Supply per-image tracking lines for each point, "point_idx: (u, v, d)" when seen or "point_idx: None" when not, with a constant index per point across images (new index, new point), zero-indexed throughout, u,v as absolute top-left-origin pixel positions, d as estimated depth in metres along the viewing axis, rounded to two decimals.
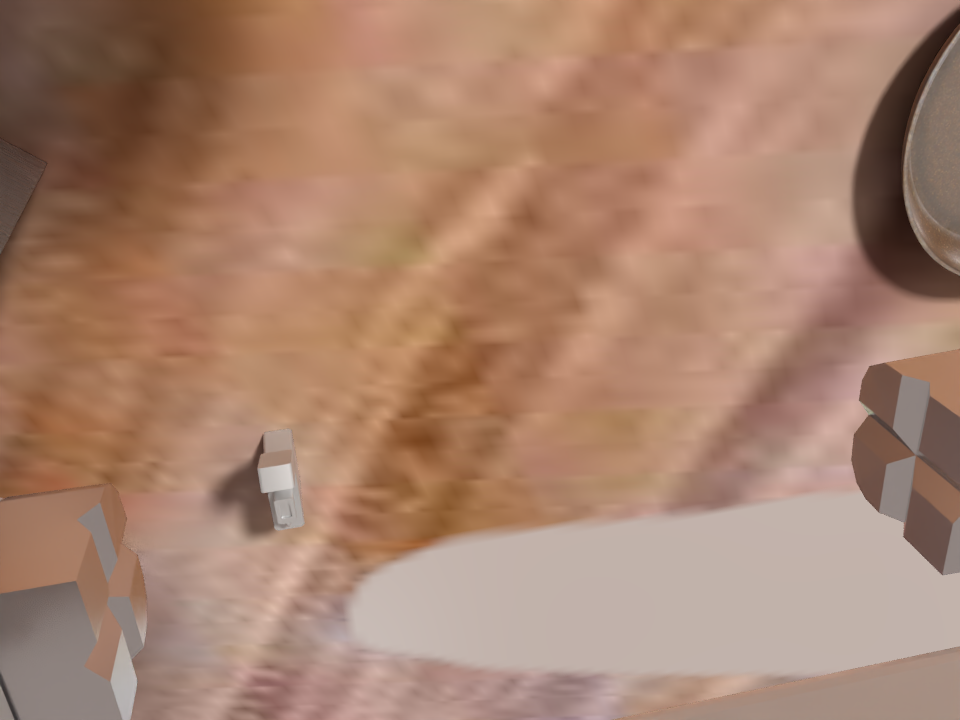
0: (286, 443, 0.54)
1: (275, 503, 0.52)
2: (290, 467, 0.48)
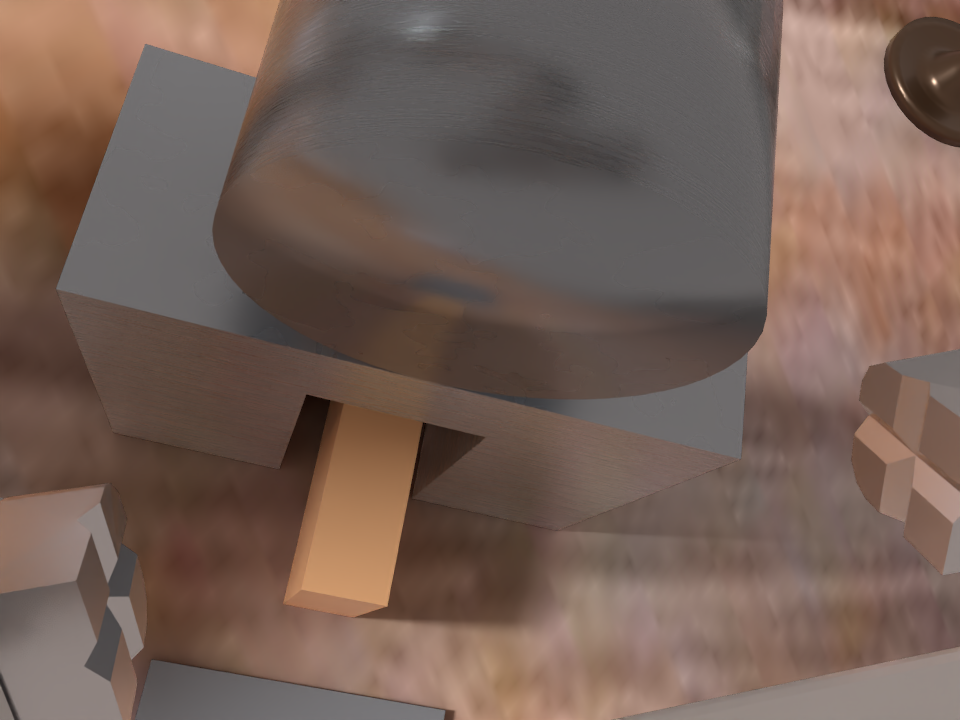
0: None
1: None
2: None
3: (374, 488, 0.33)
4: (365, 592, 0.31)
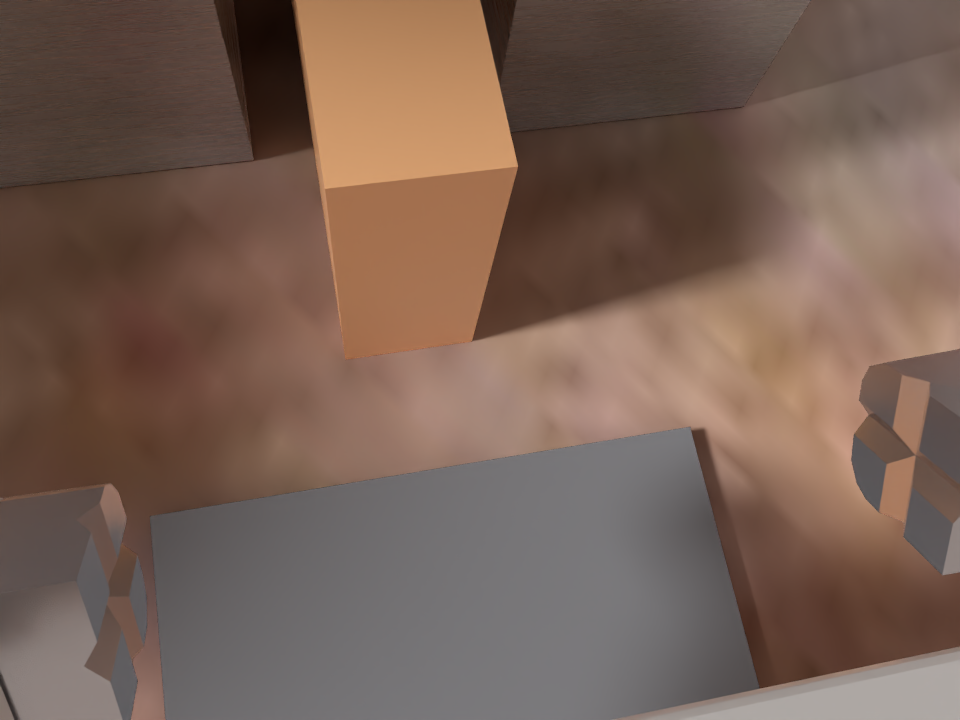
0: None
1: None
2: None
3: None
4: (462, 154, 0.14)
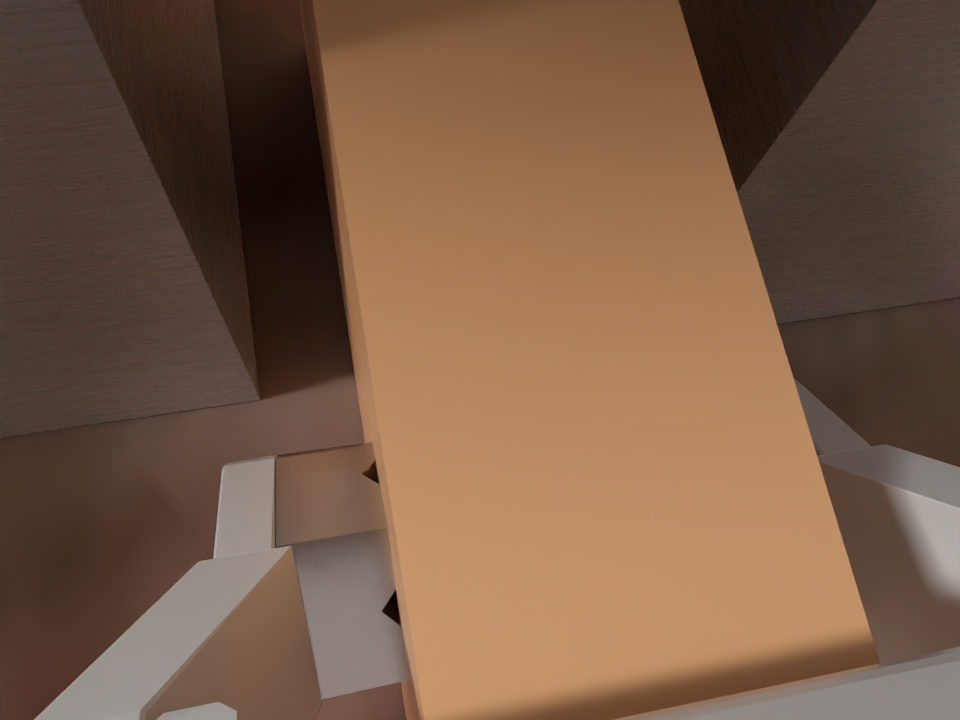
0: None
1: None
2: None
3: (585, 230, 0.07)
4: None
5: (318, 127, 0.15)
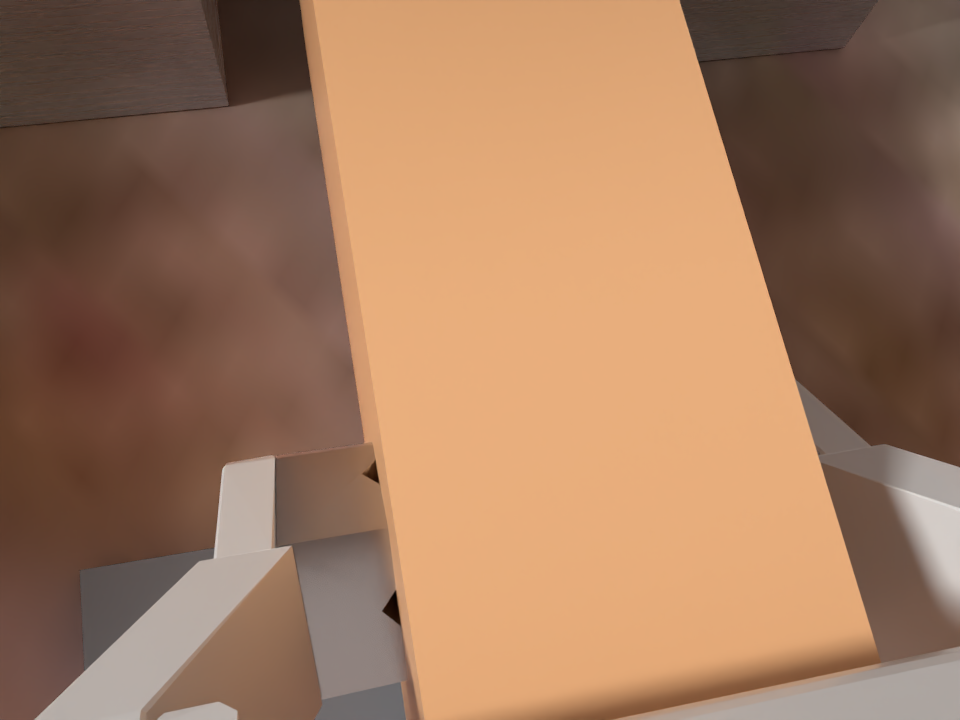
0: None
1: None
2: None
3: (586, 229, 0.07)
4: None
5: (318, 126, 0.15)
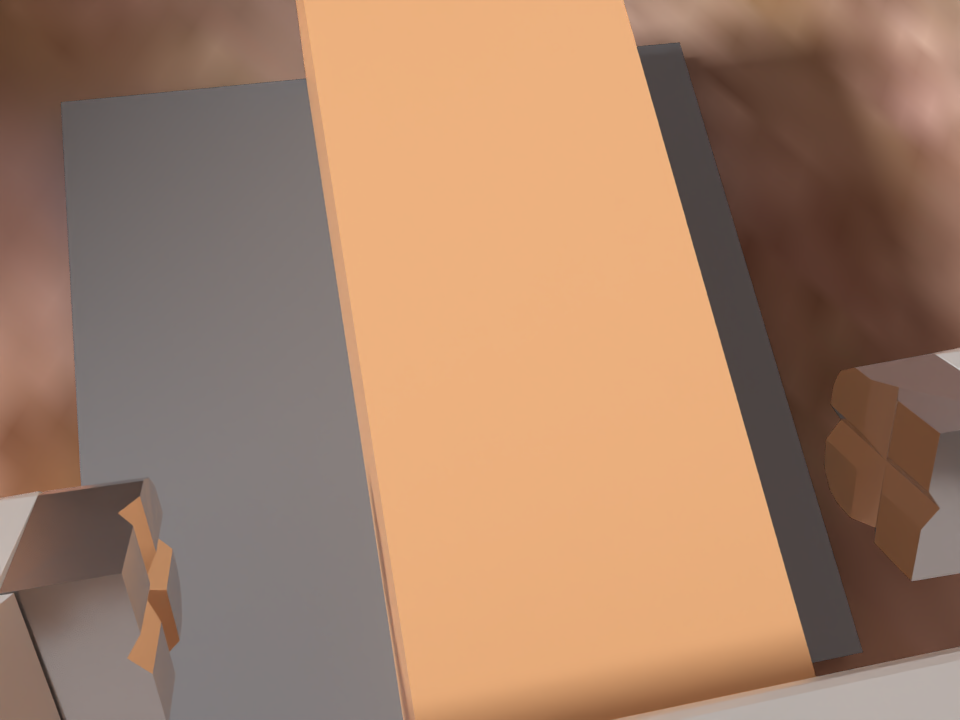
0: None
1: None
2: None
3: (564, 306, 0.08)
4: None
5: (320, 169, 0.16)
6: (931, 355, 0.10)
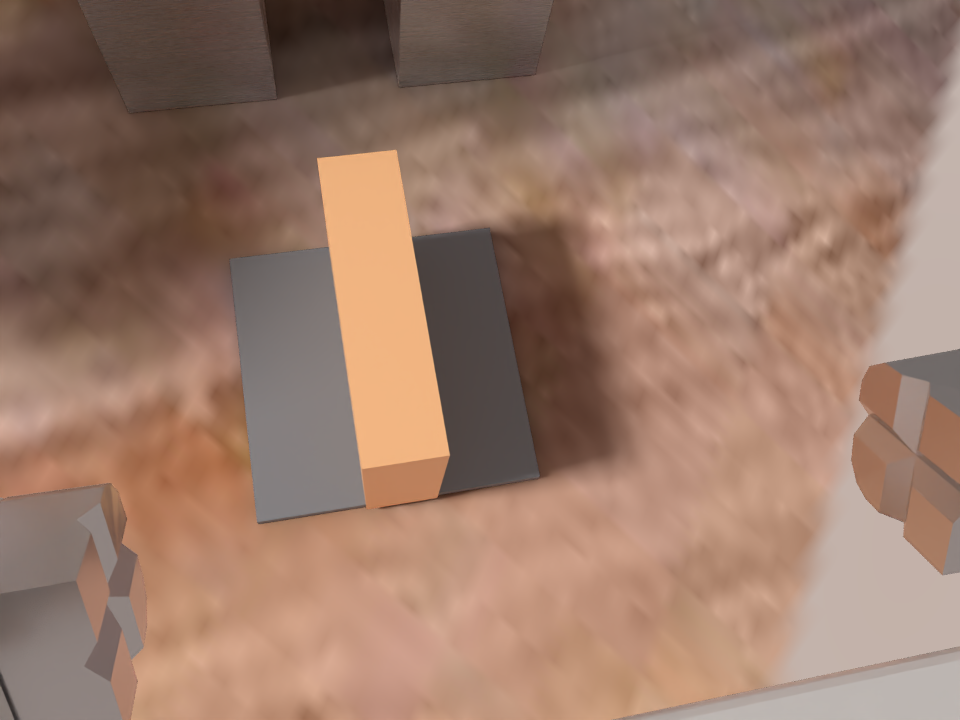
0: None
1: None
2: None
3: (396, 353, 0.32)
4: (424, 450, 0.31)
5: None
6: None
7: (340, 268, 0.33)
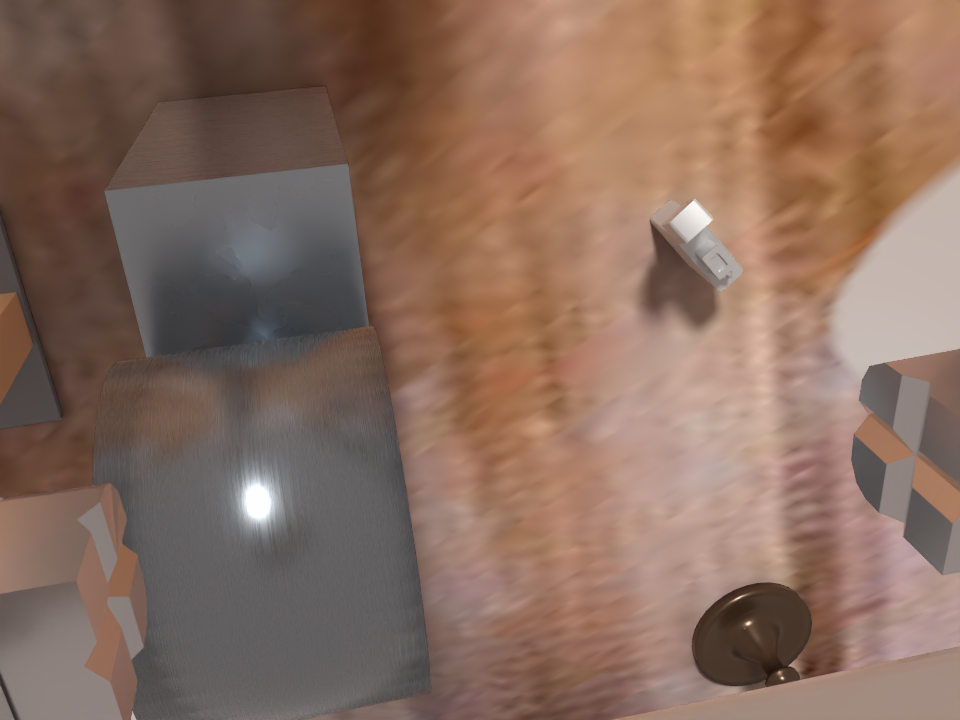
0: (677, 209, 0.50)
1: (704, 260, 0.48)
2: (697, 202, 0.44)
3: None
4: None
5: None
6: None
7: None
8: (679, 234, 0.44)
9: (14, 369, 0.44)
